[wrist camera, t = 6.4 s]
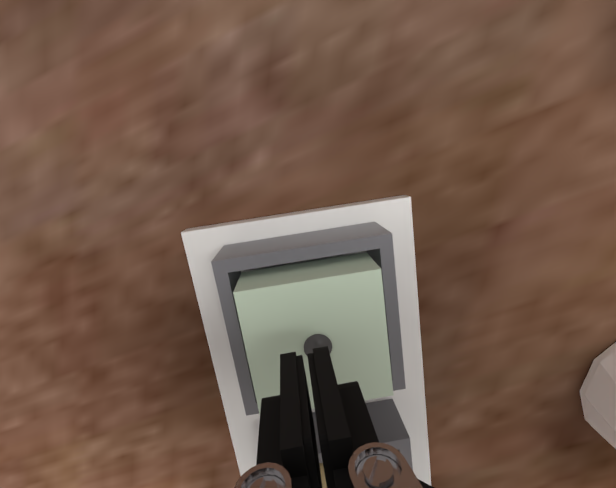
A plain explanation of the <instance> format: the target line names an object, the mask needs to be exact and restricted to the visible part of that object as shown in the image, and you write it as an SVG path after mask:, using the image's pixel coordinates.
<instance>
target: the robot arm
mask: <svg viewBox="0 0 616 488" xmlns="http://www.w3.org/2000/svg"><path fill="white" fill-rule="evenodd" d="M307 357H308V364H309V371H310V378H311V386H312V393H313V400H314V407H315V414H316V422H317V429H318V436H319V443H320V449H321V455H322V461H323V467H324V473H325V479H326V485H327V488H434V487H432V486H430V485H428V484H427V483H425V482H423V481H421V480H419V479H417V477H416V475H415V474H414V472H413V470H412V469H411V467H410V466H409V464H408V462H407V461H406V459H405V457H404V456H403V455H402V454H401V453H400V451H399V450H397V449H396V448H394V447H393V446H391V445H388V444H385V443H379V440H378V437H377V434H376V432H375V429H374V426H373V423H372V420H371V417H370V414H369V412H368V409H367V406H366V403H365V400H364V397H363V395H362V392H361V389H360V386H359V383H358V382H357V381H354V382H349V383H343V384H337V380H336V376H335V373H334V369H333V365H332V361H331V357H330V353H329V349H328V346H324V347H319V348H313V353H309V354H307ZM234 488H322V481H321V473H320V465H319V458H318V450H317V442H316V434H315V427H314V420H313V414H312V409H311V403H310V397H309V391H308V385H307V379H306V373H305V368H304V362H303V356H302V355H298V356H296V352H290V353H284V354H280V395H277V396H271V397H266V398H262V400H261V410H260V423H259V435H258V448H257V461H256V466H254V467H252V468H250V469H249V470H248V471H246V472H245V473H244V474H243V475H242V476H241V477H240V479H239V480H238V481H237V483H236V485H235V487H234Z"/></svg>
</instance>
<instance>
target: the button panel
mask: <svg viewBox="0 0 616 488" xmlns="http://www.w3.org/2000/svg"><path fill="white" fill-rule="evenodd" d="M181 235H182V239H183V243H184V247H185V251H186V255H187V259H188V264H189V268H190V272H191V276H192V280H193V284H194V288H195V292H196V296H197V300H198V304H199V308H200V312H201V316H202V320H203V325H204V329H205V333H206V337H207V341H208V345H209V349H210V353H211V357H212V361H213V365H214V369H215V373H216V377H217V382H218V386H219V390H220V394H221V398H222V402H223V406H224V410H225V414H226V418H227V422H228V426H229V430H230V434H231V438H232V443H233V447H234V451H235V455H236V459H237V463H238V467H239V471H240V475H241V476H242V475H243V474H244V473H245V472H246V471H248V470H249V469H250V468H252V467H254V466H256V461H257V448H258V435H259V423H260V414H259V410H258V405H257V400H256V396H255V391H254V387H253V382H252V377H251V373H250V368H249V364H248V359H247V354H246V350H245V345H244V340H243V336H242V331H241V327H240V322H239V317H238V313H237V308H236V303H235V299H234V294H233V292H234V289H235V287H236V284H237V282H238V280H239V277H240V275H241V272H247V271H254V270H260V269H266V268H273V267H279V266H285V265H291V264H298V263H304V262H310V261H317V260H323V259H329V258H335V257H342V256H348V255H354V254H361V253H368V254H369V256H370V257H371V258H372V259H373V260H374V261H375V262H376V263H377V265H378V266H379V267H380V268H381V272H382V283H383V293H384V303H385V313H386V323H387V334H388V344H389V354H390V364H391V374H392V384H393V396H387V397H381V398H375V399H369V400H365V403H366V406H367V409H368V412H369V414H370V417H371V420H372V423H373V426H374V429H375V432H376V434H377V437H378V440H379V443H385V444H388V445H391V446H393V447H394V448H396V449H397V450H399V451H400V453H401V454H402V455H403V456H404V457H405V459H406V461H407V462H408V464H409V466H410V467H411V469H412V470H413V472H414V474H415V475H416V477H417V479H419V480H421V481H423V482H425V483H427V484H428V485H430V486H431V473H430V459H429V445H428V431H427V417H426V403H425V389H424V375H423V361H422V347H421V333H420V319H419V305H418V291H417V277H416V263H415V249H414V235H413V221H412V207H411V197H410V196H406V195H401V196H394V197H388V198H381V199H375V200H369V201H362V202H356V203H349V204H343V205H336V206H330V207H323V208H317V209H311V210H304V211H298V212H291V213H285V214H278V215H272V216H266V217H259V218H253V219H246V220H240V221H233V222H227V223H220V224H214V225H208V226H201V227H195V228H188V229H185V230H184V231H182V232H181ZM312 414H313V420H314V427H315V434H316V442H317V450H318V458H319V463H323V461H322V455H321V449H320V443H319V436H318V429H317V422H316V414H315V409H312Z"/></svg>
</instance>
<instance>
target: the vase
mask: <svg viewBox="0 0 616 488" xmlns="http://www.w3.org/2000/svg"><path fill="white" fill-rule="evenodd" d="M579 392H580V397H581V402H582V408H583V413H584V419H585V420H586V421H587V422H588V423H589V424H590V426H592V427H593V428H594V429H595V430H596V431H597V432H598V433H599V434H600V435H601V436H602V437H603V438H604V439H605V440H606V441H607V442H608V443H610V444H611V445H612V446H613V447H614V448H615V449H616V342H615V343H614V344H613V345H611V346H610V347H609V348H608V349H606V350H605V351H604V352H603V353H601V354H600V355H599V356H598V357H596V358H595V359H594V360H593V363H592V365H591V367H590V369H589V371H588V374H587V376H586V378H585V380H584V382H583V384H582V387H581V389H580V391H579Z"/></svg>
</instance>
